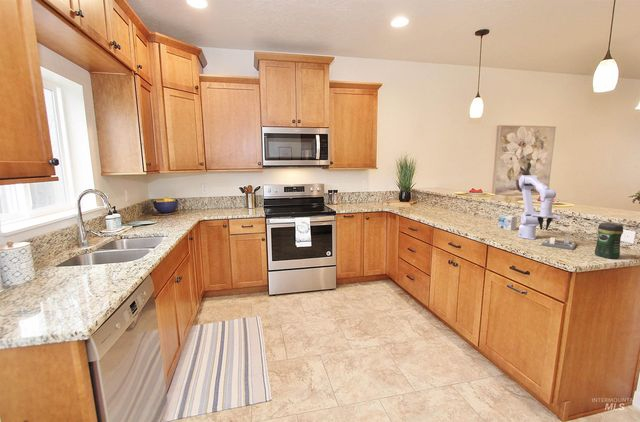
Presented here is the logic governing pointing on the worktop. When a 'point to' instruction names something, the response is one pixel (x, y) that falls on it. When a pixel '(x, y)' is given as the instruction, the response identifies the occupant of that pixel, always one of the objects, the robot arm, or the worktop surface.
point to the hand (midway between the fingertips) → (543, 229)
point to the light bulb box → (507, 222)
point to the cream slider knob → (566, 240)
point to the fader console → (560, 244)
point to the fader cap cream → (552, 240)
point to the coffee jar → (609, 240)
